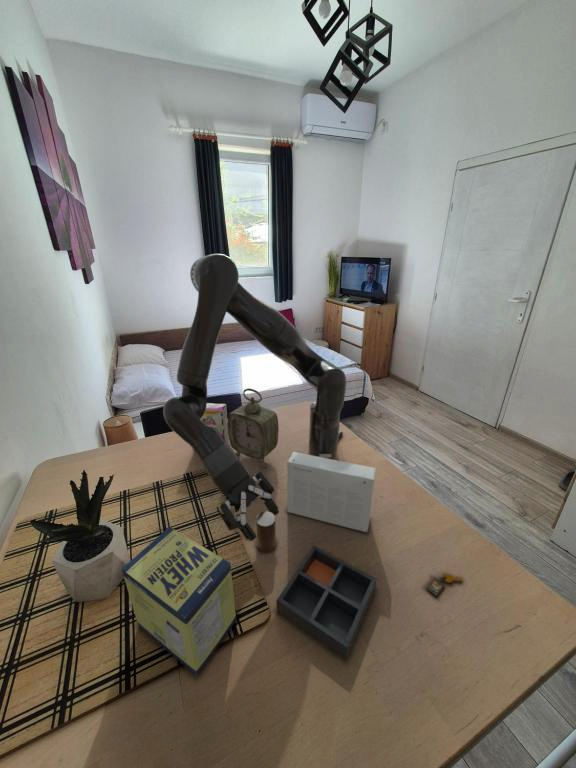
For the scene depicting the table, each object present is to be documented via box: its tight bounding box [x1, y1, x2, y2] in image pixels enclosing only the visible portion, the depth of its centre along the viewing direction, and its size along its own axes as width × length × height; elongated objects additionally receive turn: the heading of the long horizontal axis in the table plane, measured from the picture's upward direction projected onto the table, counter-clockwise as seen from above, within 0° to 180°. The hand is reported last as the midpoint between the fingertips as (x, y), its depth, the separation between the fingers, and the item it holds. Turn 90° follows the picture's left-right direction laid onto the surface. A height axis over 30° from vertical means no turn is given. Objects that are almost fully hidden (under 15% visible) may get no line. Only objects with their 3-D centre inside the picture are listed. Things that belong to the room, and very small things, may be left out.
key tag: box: [426, 573, 463, 597], centre depth 68 cm, size 8×3×1 cm, turn 116°
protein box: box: [121, 526, 238, 677], centre depth 57 cm, size 10×16×16 cm
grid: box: [276, 545, 378, 660], centre depth 64 cm, size 14×14×4 cm
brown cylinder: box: [255, 510, 277, 553], centre depth 75 cm, size 4×4×8 cm
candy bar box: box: [200, 402, 230, 446], centre depth 109 cm, size 11×5×16 cm, turn 84°
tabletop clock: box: [227, 387, 280, 469], centre depth 102 cm, size 14×9×25 cm, turn 58°
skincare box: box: [286, 451, 377, 533], centre depth 82 cm, size 21×5×16 cm, turn 71°
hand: (265, 525), depth 74 cm, fingers open, 8 cm apart
